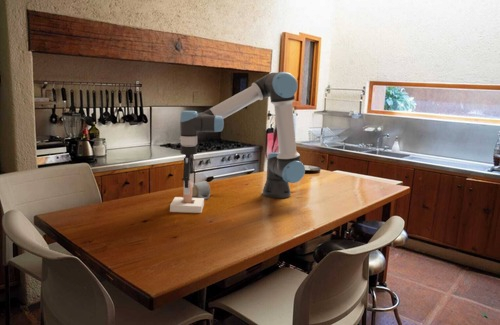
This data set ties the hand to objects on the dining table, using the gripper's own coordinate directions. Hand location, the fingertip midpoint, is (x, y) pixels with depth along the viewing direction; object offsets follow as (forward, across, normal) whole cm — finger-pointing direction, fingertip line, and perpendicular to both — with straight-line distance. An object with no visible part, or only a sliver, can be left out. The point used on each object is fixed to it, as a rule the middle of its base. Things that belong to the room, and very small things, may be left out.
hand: (188, 190), depth 190 cm
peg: (+8, 0, 0) cm, 8 cm away
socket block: (+8, 0, 0) cm, 8 cm away
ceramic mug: (+9, -20, +4) cm, 22 cm away
